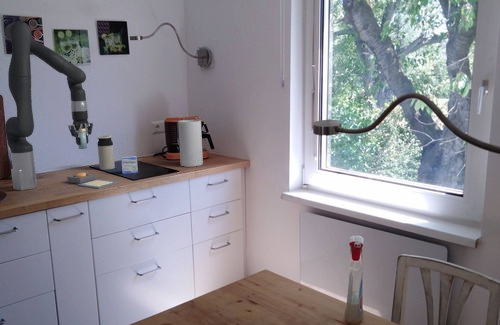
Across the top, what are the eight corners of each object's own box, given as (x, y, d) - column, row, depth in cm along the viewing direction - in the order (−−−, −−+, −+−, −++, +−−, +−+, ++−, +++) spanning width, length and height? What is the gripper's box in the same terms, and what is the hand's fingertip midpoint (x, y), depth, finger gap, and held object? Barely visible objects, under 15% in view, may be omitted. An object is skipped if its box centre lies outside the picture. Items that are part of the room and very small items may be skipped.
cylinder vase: (197, 167, 251) (195, 122, 247) (176, 166, 255) (174, 122, 251) (206, 163, 263) (204, 119, 258) (186, 162, 267) (184, 119, 262)
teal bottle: (82, 149, 230) (80, 129, 228) (76, 148, 232) (74, 129, 230) (89, 148, 233) (87, 128, 231) (83, 147, 235) (81, 128, 233)
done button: (80, 179, 221) (80, 175, 221) (73, 178, 224) (73, 174, 224) (88, 176, 226) (88, 173, 225) (81, 176, 228) (81, 172, 228)
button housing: (80, 184, 219) (79, 178, 219) (67, 182, 224) (67, 176, 223) (95, 180, 227) (94, 174, 226) (82, 178, 231) (82, 172, 231)
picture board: (98, 188, 210) (98, 187, 210) (77, 185, 217) (77, 184, 216) (117, 183, 220) (117, 181, 220) (97, 180, 227) (97, 179, 227)
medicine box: (122, 174, 239) (121, 158, 238) (122, 172, 244) (121, 156, 242) (137, 173, 241) (136, 157, 240) (137, 171, 246) (136, 155, 244)
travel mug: (117, 167, 258) (115, 135, 254) (109, 170, 250) (106, 137, 247) (105, 167, 260) (102, 135, 256) (96, 170, 252) (94, 137, 249)
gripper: (73, 111, 221) (76, 146, 224) (95, 109, 233) (98, 142, 236) (62, 111, 224) (65, 145, 228) (85, 108, 237) (88, 141, 240)
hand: (82, 144), depth 232 cm, fingers closed on teal bottle, 4 cm apart
